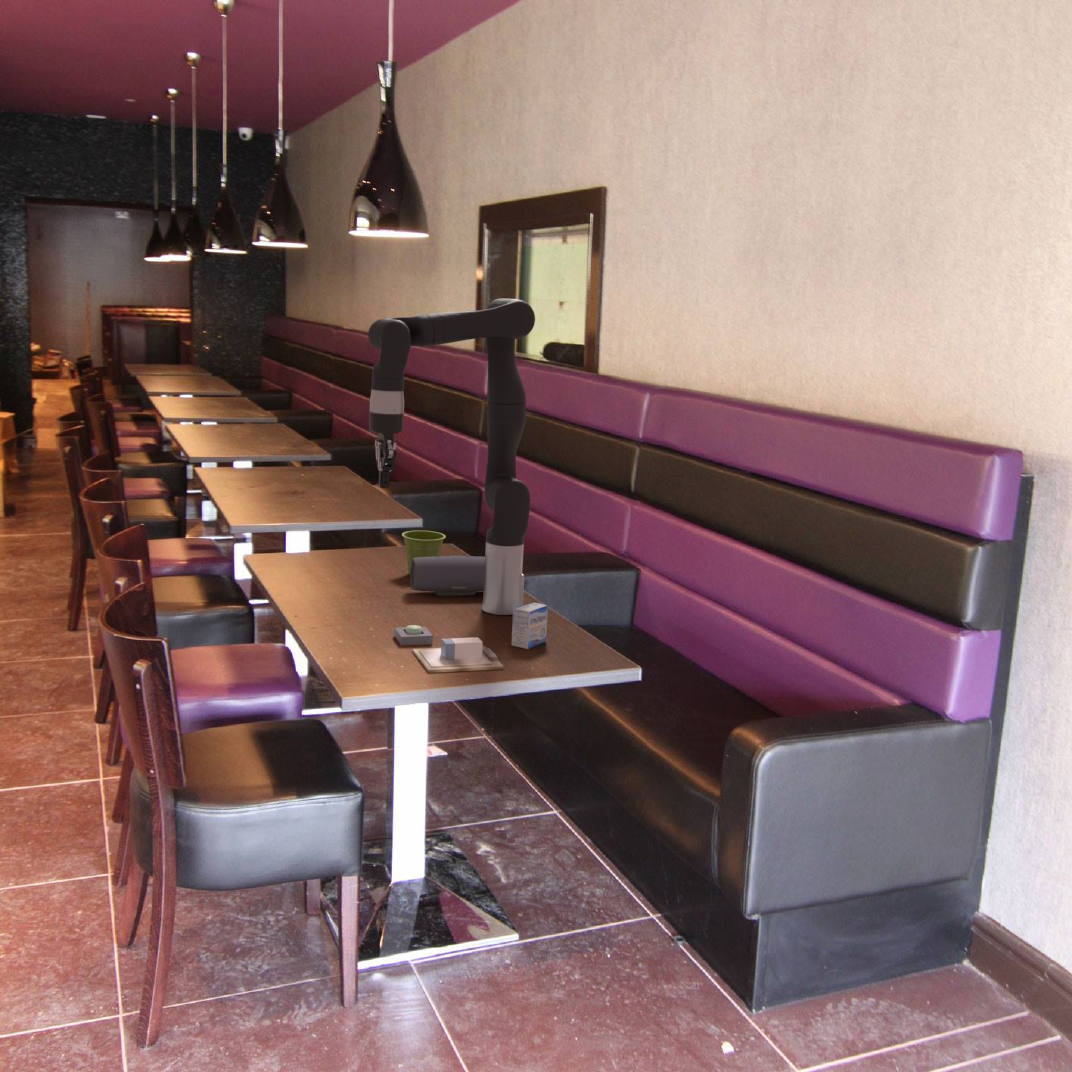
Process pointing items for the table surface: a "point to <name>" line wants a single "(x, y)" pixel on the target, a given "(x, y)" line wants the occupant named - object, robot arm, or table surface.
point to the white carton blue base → (461, 648)
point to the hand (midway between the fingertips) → (384, 487)
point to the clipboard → (456, 661)
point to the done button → (413, 629)
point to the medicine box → (529, 625)
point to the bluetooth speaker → (448, 574)
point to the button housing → (413, 637)
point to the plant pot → (422, 544)
